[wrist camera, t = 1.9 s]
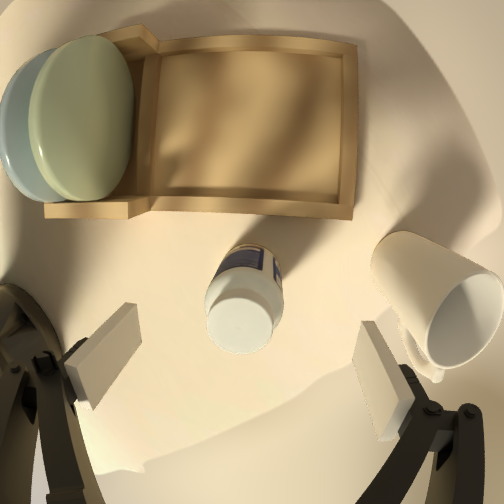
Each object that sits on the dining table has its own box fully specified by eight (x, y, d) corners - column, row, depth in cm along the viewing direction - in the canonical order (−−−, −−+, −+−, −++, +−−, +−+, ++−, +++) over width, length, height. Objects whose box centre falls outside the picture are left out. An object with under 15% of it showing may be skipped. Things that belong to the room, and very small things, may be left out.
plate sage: (122, 192, 24) (27, 214, 12) (129, 64, 20) (48, 17, 9) (133, 191, 24) (40, 214, 12) (141, 62, 20) (62, 10, 9)
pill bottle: (209, 278, 27) (178, 334, 17) (242, 230, 25) (224, 267, 16) (258, 309, 27) (251, 376, 18) (292, 265, 26) (304, 319, 16)
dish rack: (82, 207, 25) (44, 218, 20) (90, 64, 21) (55, 49, 15) (346, 216, 24) (367, 231, 18) (350, 53, 20) (370, 25, 14)
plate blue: (92, 192, 24) (-4, 215, 12) (99, 71, 21) (13, 36, 9) (102, 192, 24) (6, 215, 12) (109, 69, 21) (25, 29, 9)
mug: (370, 225, 24) (439, 271, 13) (432, 228, 24) (515, 268, 12) (358, 326, 27) (398, 411, 15) (416, 322, 27) (471, 394, 15)
